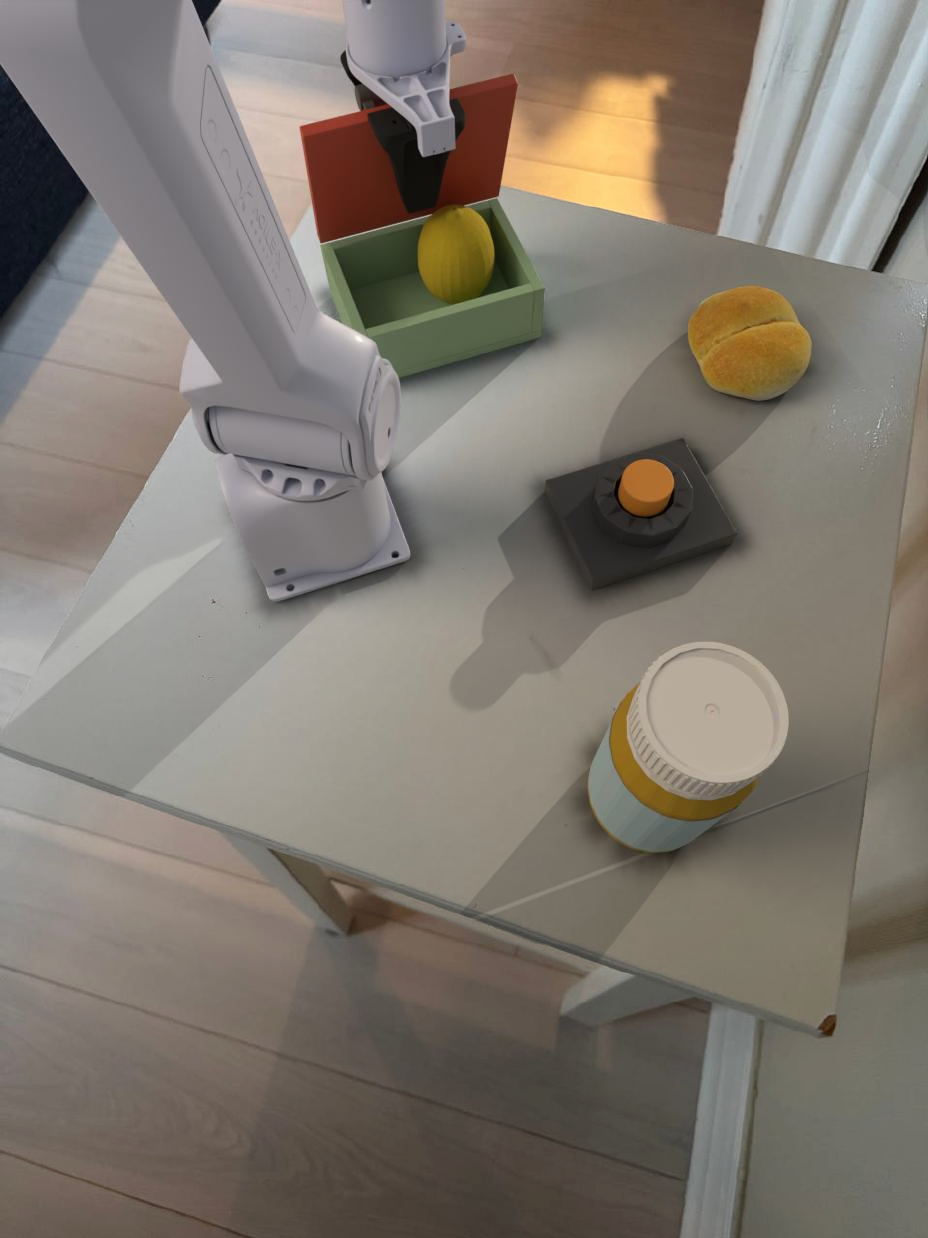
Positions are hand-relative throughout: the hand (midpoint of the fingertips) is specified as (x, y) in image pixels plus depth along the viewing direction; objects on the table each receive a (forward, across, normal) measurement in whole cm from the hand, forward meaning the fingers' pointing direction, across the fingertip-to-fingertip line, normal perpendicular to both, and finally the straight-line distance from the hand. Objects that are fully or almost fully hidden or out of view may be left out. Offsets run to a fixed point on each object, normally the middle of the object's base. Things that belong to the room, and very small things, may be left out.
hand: (410, 185), depth 57 cm
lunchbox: (+8, -4, 0) cm, 9 cm away
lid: (-2, -1, 0) cm, 2 cm away
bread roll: (+9, -15, -20) cm, 27 cm away
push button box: (+8, -25, -7) cm, 28 cm away
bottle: (+8, -42, 0) cm, 43 cm away
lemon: (+4, -3, -2) cm, 6 cm away
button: (+6, -25, -7) cm, 27 cm away
